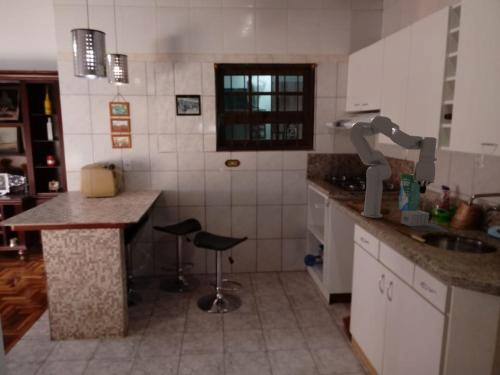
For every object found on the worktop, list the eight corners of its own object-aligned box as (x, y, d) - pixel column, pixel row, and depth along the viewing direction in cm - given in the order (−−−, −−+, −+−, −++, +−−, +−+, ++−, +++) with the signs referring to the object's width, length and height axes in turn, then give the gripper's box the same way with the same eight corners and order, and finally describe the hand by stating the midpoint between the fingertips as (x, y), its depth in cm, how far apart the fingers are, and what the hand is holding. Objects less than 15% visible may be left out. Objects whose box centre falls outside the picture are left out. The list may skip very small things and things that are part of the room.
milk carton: (417, 211, 245) (422, 174, 241) (407, 212, 242) (412, 174, 238) (407, 208, 253) (412, 173, 250) (397, 209, 250) (401, 173, 246)
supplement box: (402, 210, 206) (420, 210, 210) (400, 223, 207) (418, 222, 211) (411, 213, 199) (429, 213, 203) (409, 226, 200) (428, 226, 204)
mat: (402, 222, 211) (402, 221, 211) (433, 224, 211) (433, 223, 211) (415, 230, 194) (415, 230, 194) (449, 232, 193) (449, 231, 193)
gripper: (436, 160, 200) (432, 192, 203) (409, 158, 200) (405, 191, 203) (443, 161, 193) (439, 195, 196) (415, 159, 193) (411, 193, 196)
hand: (422, 193), depth 199 cm, fingers closed
